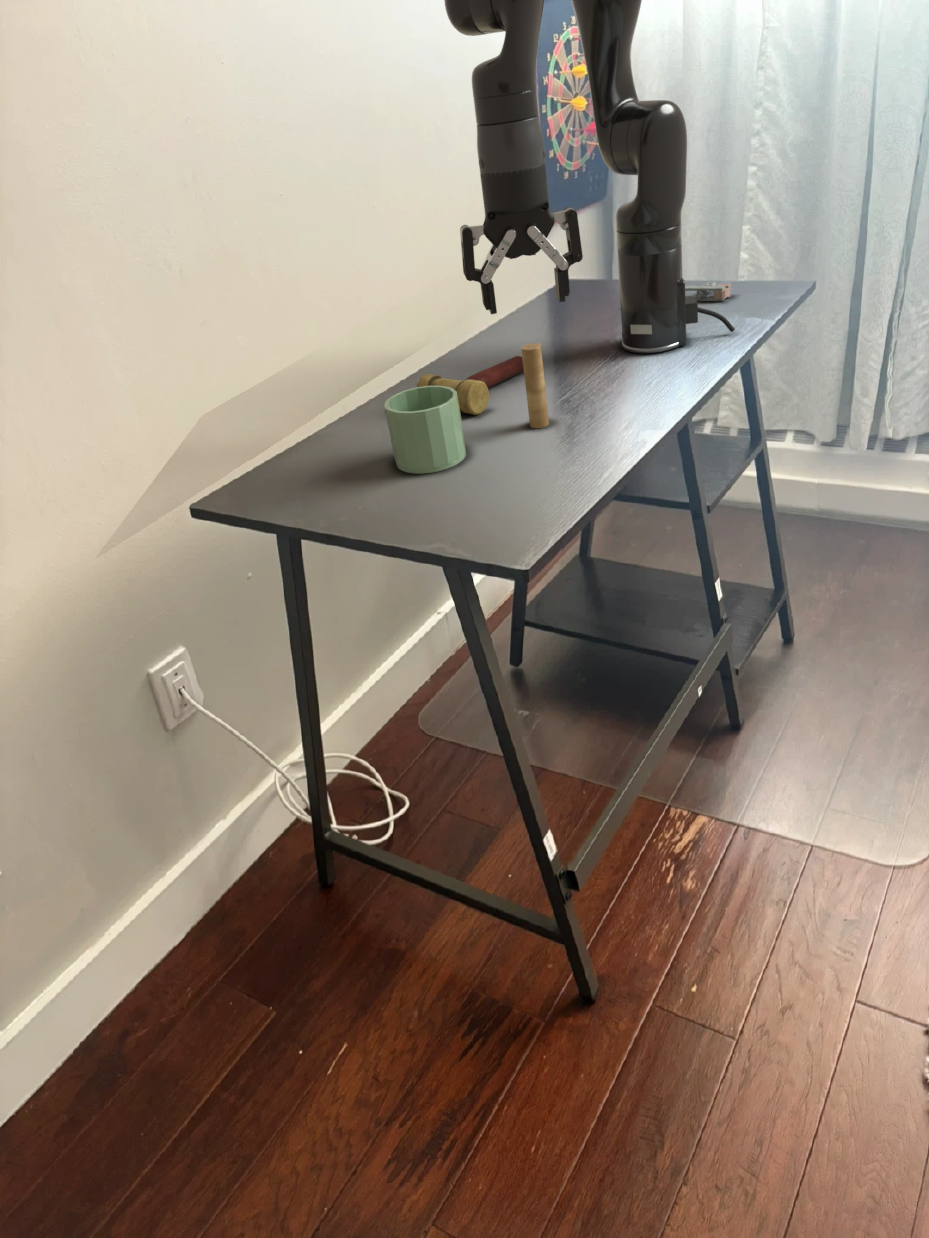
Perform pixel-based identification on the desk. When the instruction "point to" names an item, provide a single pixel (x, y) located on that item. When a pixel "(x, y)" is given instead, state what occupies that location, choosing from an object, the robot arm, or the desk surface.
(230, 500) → the desk surface
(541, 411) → the stick
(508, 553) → the desk surface
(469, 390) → the gavel
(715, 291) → the clamp
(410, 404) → the cup
